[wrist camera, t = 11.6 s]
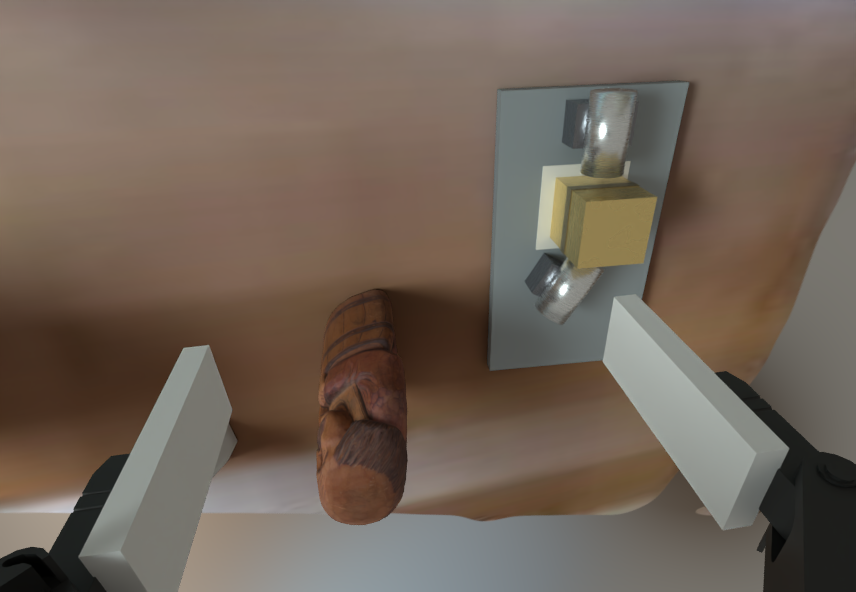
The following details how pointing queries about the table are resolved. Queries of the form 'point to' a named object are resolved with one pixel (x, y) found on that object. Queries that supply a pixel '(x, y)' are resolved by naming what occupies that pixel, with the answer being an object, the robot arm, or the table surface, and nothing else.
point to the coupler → (601, 220)
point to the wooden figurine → (361, 413)
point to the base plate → (532, 213)
